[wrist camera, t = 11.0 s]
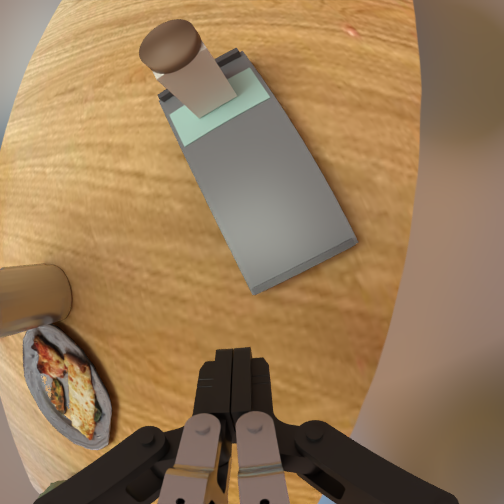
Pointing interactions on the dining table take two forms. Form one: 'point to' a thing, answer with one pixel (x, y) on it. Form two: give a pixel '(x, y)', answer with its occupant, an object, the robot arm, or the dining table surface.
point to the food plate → (67, 386)
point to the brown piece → (186, 66)
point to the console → (259, 180)
